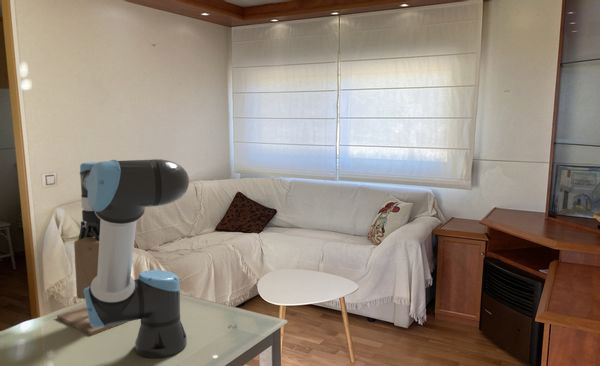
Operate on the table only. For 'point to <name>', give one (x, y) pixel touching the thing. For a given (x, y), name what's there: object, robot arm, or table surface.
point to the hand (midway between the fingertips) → (97, 271)
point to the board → (82, 321)
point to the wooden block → (85, 263)
